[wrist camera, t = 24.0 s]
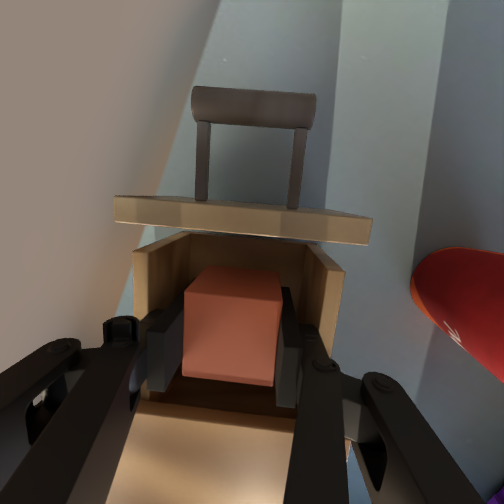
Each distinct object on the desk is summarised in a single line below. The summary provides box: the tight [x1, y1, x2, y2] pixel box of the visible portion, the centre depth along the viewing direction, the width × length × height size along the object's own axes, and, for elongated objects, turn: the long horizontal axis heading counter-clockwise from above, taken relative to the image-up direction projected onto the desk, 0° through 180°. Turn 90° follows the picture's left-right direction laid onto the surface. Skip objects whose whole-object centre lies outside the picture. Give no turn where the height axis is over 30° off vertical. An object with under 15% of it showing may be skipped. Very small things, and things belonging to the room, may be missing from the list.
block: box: [182, 265, 283, 387], centre depth 14 cm, size 5×5×5 cm
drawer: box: [114, 86, 373, 419], centre depth 15 cm, size 19×11×8 cm, turn 175°
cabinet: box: [106, 400, 351, 504], centre depth 18 cm, size 15×13×10 cm
